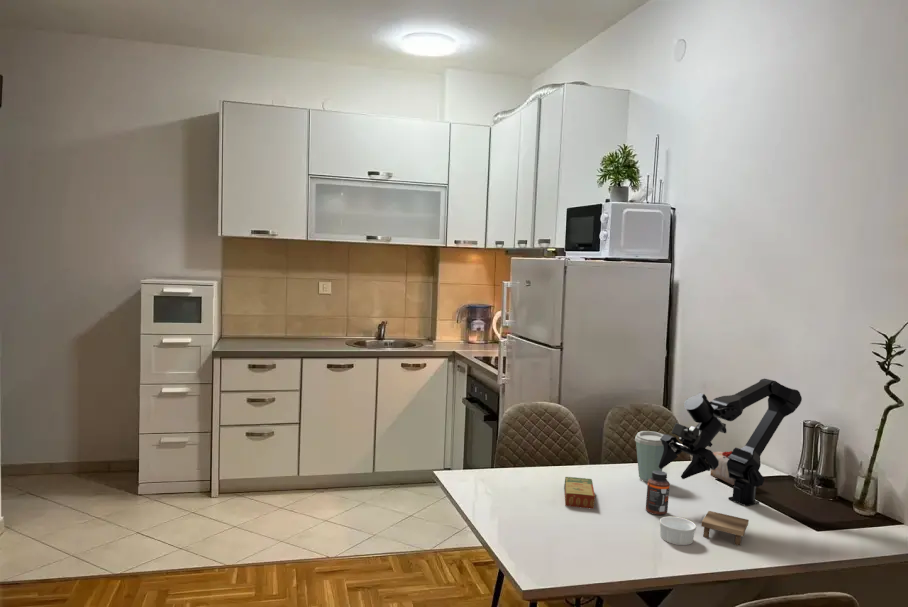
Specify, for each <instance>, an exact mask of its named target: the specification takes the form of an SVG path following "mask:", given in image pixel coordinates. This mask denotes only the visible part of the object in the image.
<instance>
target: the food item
mask: <svg viewBox="0 0 908 607" xmlns="http://www.w3.org/2000/svg"><path fill="white" fill-rule="evenodd" d="M732 451H733V450H731V451H712V452H713V454H714V455H715V457H716V458H717V459H718V461H719V465H718V467H717V468H716V469H715V470H712V469H710V476H712V477H715V478H716V479H719V480H721V481H723V482H725V483H727V484H729V485H731V486H733V485H734V481H735V479H732V478H729V473H728V469H727V461H728V460H729V458H728V457H729V456H730V455H731V454H732Z"/></svg>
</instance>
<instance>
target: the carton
mask: <svg viewBox="0 0 908 607" xmlns="http://www.w3.org/2000/svg"><path fill="white" fill-rule="evenodd" d="M563 491H564V506H565V507H570V508H571V507H572V508H580V507H581V509H589V508H590V509H592V510H594V509H595V501H596V494H595V490H594V483H593V480H592V478H585V477H573V476H565V477H564V484H563Z"/></svg>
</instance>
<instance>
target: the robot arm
mask: <svg viewBox="0 0 908 607" xmlns="http://www.w3.org/2000/svg"><path fill="white" fill-rule="evenodd" d="M767 397H768V398H767ZM765 398H767V410H766V412H765V413H764V414H763V417H761V419H760V421H759V423H758V425H757V426H756V427H755V429H754V431H753V432H752V434H751V435H750V437H749V438H748V440H747V442H746V443H745V445H744V446H743V447H741V448H739V447H735V448H733V450H731V451H732V454H731V455H730V456H729V457H728V458H729V460H728V461H727V469H728V473H729V478H732V479H735V481H734V486H733V487H732V488H733V489H732V496H728V500H730V501H733V502H735V503H738V504H740V505H743V506H745V507H748V506H753V505H757V504H758V505H759V504H760V501H758V500H756V492H757V488H759V487H760V486H763V485H764V481H765V478H764V476H763V475H762V473H761V472H760V468H761V465H762V464H761V455H762V454H763V452H764V450H765V449H766V447H767V446H768V444H769V442H770V441H771V439H772V438H773V436H774V435H775V432H776V431H777V429H778V428H779V427H780V425H781V423H782V421H783V420H784V418H785V417H787V416H790V415H791V414H793V413H795V411H796V410H797V408H798V407H799V406H800V405H801V403H802V401H803V400H802V399H803V398H802V395H801V392H800V391H799V390H798V389H794V388H790V387H787V386H786V385H783V384H781V383H780V382H778V381H776V380H773V379H769V378H761V379H760V380H759V381H758V382H756V383H754V384H752V385H750V386H748V387H746V388H744V389H742V390H741V391H738V392H736V393H735V394H732V395H731V394H729V395H721V396H718V397H715V398H714V399H712V400H711V401H709V400H708V398H707V396H706V394H705V393H702V392H698V393H697V395H693V396H691V397H689V398H686V400H685V401H684V403H683V407H684V409H685V410H686V411H687V413H688V414H689V416H690V417H691V418H692V420H693V421H694V422H696V423H697V424H696V426H693V425H691V426H690V427H688V426H686V425H683V424H681V423H677V422H675V424H674V426H673V428H672V430H671V432H670V433H671V434H673V435H671V434H668V433H663V436H662V437H661V439H660V440H661V441H662V445H663V446H664V451H663V455H662V458H661V461H660V463H659V468H660V469H662V468H663V469H664V468H666V466H668V465H669V464H671V463H672V462H673V461H675V460H676V459H677V458H679V456H678V455H680V454H682V452H683V453H685V454H688V455H690V456H692V458H691V461H690V463H689V464H688V465H687V467H685V469H684V471H683V472H682V473H681V475H680V477H681V479H682V480H685V479H688V478H690V477H692V476H695V475H697V474H701V473H704V472H706V471H707V472H711V469H712V470H715V469H716V468H717V467H718V465H719V461H718V459H717V458H716V457H715V455H714V454H713V452H714V451H712V450H711V449H708V448H707V447H709V448H711V447H712V446H713V443H712V441H713V440H714V439H715V437H716V436H717V435H718V434H719V433H723V434H727V424H726V423H724V422H722V420H723V421H727V422H733V421H735V420H737V418H739V417H741V415H742V414H743V412H744V410H745V409H746V408H748V407H751V405H753V404H756V403H758V402H759V401H761V400H763V399H765ZM720 419H721V420H720ZM674 435H675V436H674ZM676 436H677V437H679V438H678V439H677V437H676ZM663 469H662V470H663Z"/></svg>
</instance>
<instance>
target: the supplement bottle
mask: <svg viewBox="0 0 908 607" xmlns="http://www.w3.org/2000/svg"><path fill="white" fill-rule="evenodd" d="M667 478H668V473H667V472H665V471H663V470H662V471H653V472H652V478H650V479H649V480H648V482H647V488H646V498H645V499H646V501H645V510H646V511H647V512H648V513H649V514H652V513H653V515H659V516H663V515H666V514H667V513H668V510H669V507H668V506H669V499H670V498H669V496H670V484H671V483H670V482H669V481H668V479H667Z"/></svg>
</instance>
